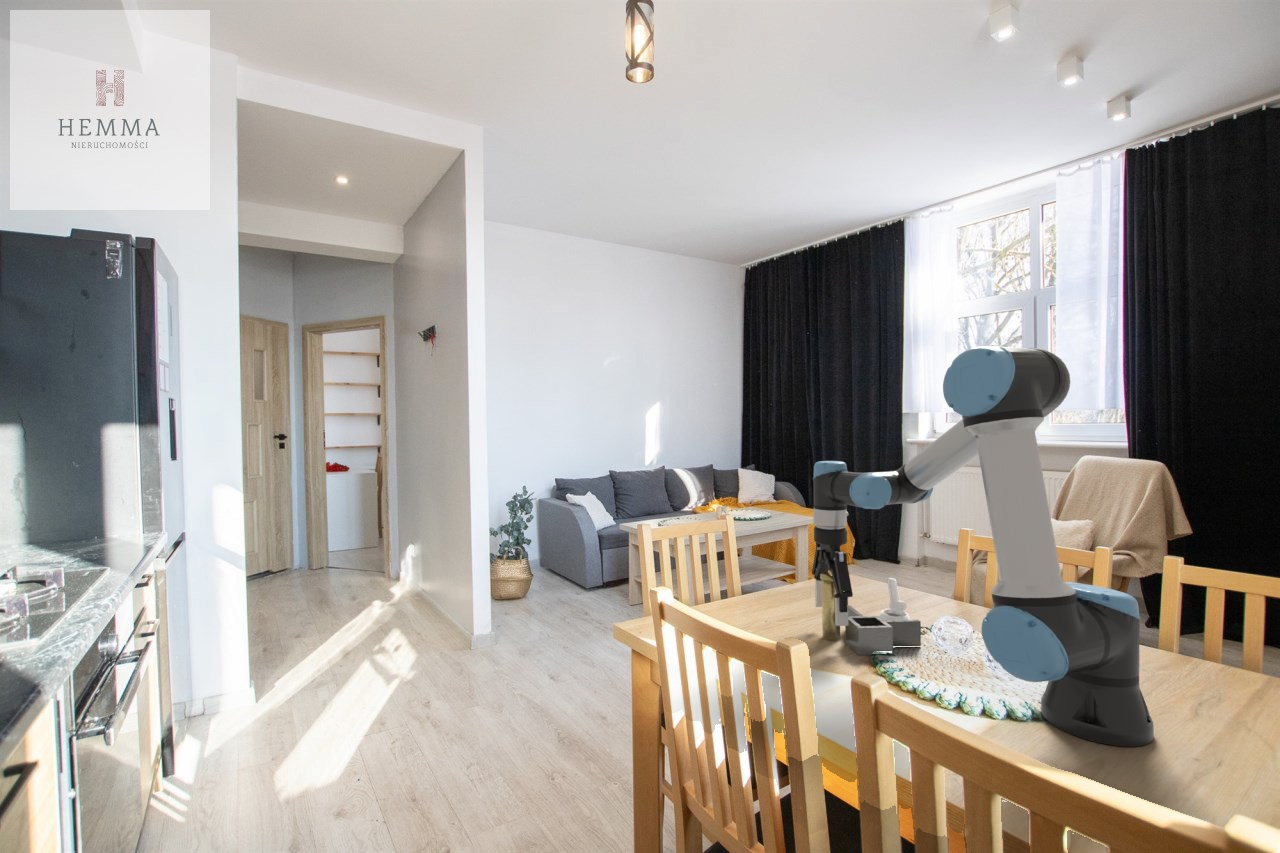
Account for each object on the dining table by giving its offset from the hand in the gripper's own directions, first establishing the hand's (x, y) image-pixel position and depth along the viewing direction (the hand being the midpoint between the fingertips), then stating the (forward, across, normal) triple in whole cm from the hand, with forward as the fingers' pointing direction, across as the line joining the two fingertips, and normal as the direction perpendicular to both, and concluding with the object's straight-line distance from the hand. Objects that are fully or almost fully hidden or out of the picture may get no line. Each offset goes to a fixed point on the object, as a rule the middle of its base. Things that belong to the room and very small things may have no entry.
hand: (831, 615), depth 142 cm
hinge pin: (+5, 0, 0) cm, 5 cm away
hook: (+6, +12, -21) cm, 25 cm away
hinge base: (+5, -3, -10) cm, 12 cm away
